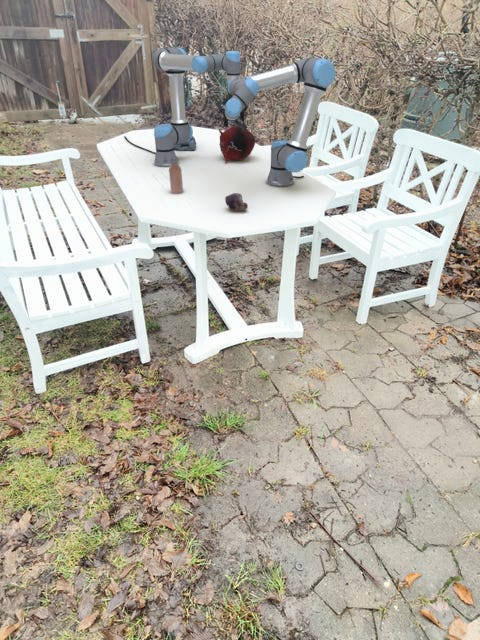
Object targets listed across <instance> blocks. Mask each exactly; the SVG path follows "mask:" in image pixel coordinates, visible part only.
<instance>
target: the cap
mask: <svg viewBox="0 0 480 640" xmlns="http://www.w3.org/2000/svg"><path fill="white" fill-rule="evenodd" d="M170 160H171V162H173V163H175V162H178V163H179V157H177V156H176V157H172V158H170Z"/></svg>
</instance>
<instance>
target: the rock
mask: <svg viewBox="0 0 480 640" xmlns="http://www.w3.org/2000/svg"><path fill="white" fill-rule="evenodd" d="M224 201H225V204H226V206H227V207H228V209H229V210H231V211H235V212H236V211H245V210H247V209H249V208H248V207H249V206H248V203H247V202H244V200H243V195H242V194H241V193H239V192H236V193H235V192H233V193H231V194H228V195H226V196H225V199H224Z"/></svg>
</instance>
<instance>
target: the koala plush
mask: <svg viewBox="0 0 480 640" xmlns="http://www.w3.org/2000/svg"><path fill="white" fill-rule="evenodd" d="M196 149H197V141H196V138H195V136H194V135H192V138H191V139H190V140H189V141H188V142H185V143H180V144H176V145H174V150H177V151H195V150H196Z"/></svg>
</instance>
